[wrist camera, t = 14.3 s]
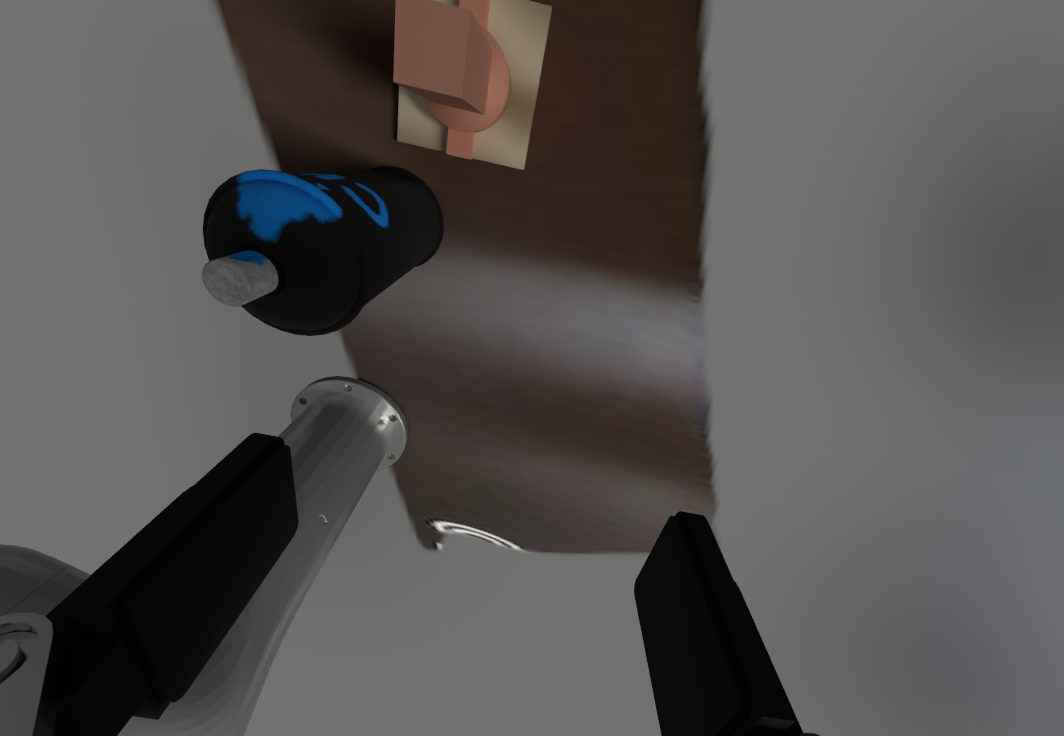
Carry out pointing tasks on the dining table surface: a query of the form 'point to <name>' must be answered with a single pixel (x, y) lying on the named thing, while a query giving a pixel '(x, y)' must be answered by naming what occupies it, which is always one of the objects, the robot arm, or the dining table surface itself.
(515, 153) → the mat
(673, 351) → the dining table surface
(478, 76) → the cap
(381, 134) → the dining table surface
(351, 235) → the aerosol can
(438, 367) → the dining table surface
